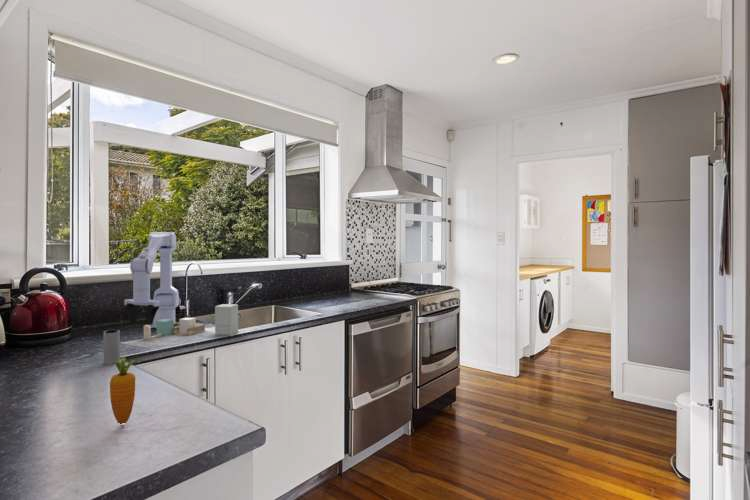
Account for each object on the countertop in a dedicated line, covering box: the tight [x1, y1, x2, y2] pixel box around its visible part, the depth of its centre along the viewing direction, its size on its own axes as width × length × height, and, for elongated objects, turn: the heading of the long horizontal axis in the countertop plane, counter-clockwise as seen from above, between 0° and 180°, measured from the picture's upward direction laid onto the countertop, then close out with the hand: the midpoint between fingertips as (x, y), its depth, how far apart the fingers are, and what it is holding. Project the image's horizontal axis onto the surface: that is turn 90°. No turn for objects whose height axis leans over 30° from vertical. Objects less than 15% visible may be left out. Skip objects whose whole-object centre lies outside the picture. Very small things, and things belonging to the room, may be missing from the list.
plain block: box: [178, 317, 197, 334], centre depth 179 cm, size 4×4×6 cm
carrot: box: [109, 357, 136, 424], centre depth 90 cm, size 5×5×15 cm
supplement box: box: [214, 303, 239, 337], centre depth 180 cm, size 7×7×13 cm
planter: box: [102, 329, 121, 365], centre depth 137 cm, size 4×4×10 cm
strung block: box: [143, 319, 174, 341], centre depth 172 cm, size 4×13×6 cm, turn 165°
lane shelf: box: [172, 321, 206, 336], centre depth 181 cm, size 15×10×3 cm, turn 76°
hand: (141, 323), depth 164 cm, fingers open, 7 cm apart
